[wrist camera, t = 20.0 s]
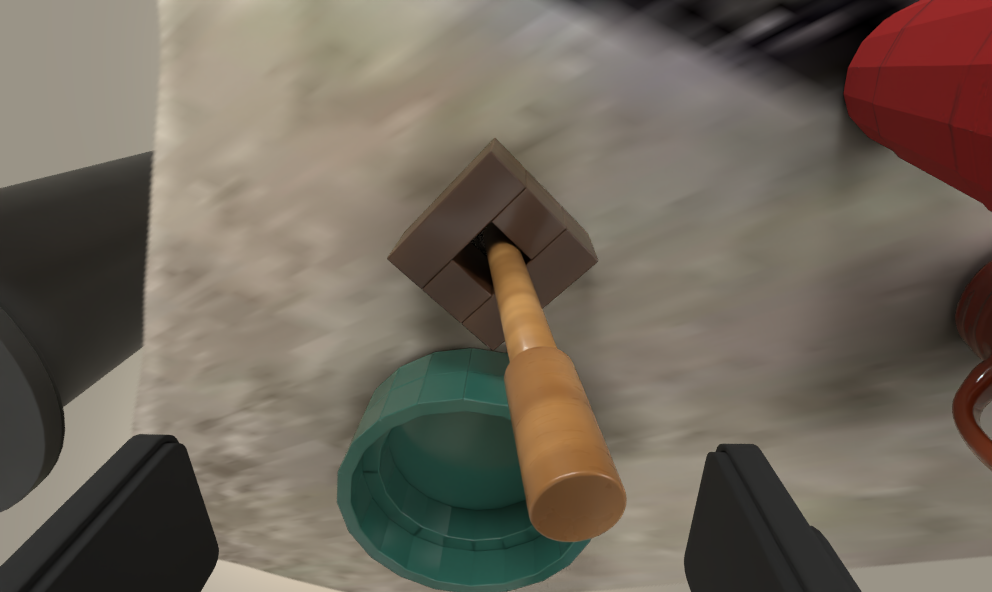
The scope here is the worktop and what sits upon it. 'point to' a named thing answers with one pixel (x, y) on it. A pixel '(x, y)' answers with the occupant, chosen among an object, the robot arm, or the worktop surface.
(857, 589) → the robot arm
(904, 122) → the plastic cup
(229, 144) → the worktop surface
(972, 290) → the mug
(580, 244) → the holder
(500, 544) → the bowl
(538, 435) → the stick
